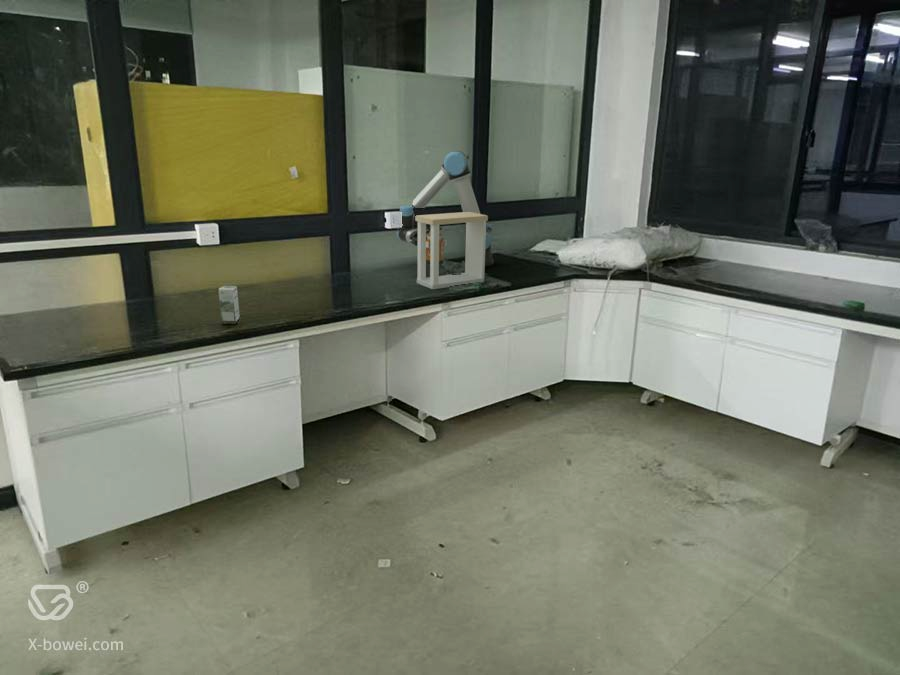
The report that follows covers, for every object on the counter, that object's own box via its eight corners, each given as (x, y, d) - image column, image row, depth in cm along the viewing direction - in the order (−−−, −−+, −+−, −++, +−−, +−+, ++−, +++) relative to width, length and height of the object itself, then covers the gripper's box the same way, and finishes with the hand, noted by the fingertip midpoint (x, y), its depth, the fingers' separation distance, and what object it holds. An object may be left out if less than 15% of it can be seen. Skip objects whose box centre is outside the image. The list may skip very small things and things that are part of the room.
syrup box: (240, 320, 253) (237, 285, 248) (236, 325, 247) (232, 289, 243) (226, 320, 253) (222, 285, 248) (221, 325, 247) (217, 289, 243)
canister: (442, 266, 327) (443, 227, 320) (421, 265, 327) (421, 226, 320) (443, 262, 335) (443, 224, 328) (422, 261, 336) (422, 223, 329)
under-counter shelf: (467, 275, 335) (469, 211, 324) (485, 281, 323) (487, 215, 312) (415, 282, 318) (415, 215, 308) (432, 289, 306) (432, 219, 295)
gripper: (433, 242, 349) (455, 249, 331) (397, 246, 337) (418, 253, 320) (433, 229, 347) (455, 235, 329) (397, 232, 335) (418, 238, 317)
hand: (437, 244), depth 324 cm, fingers closed on canister, 10 cm apart
